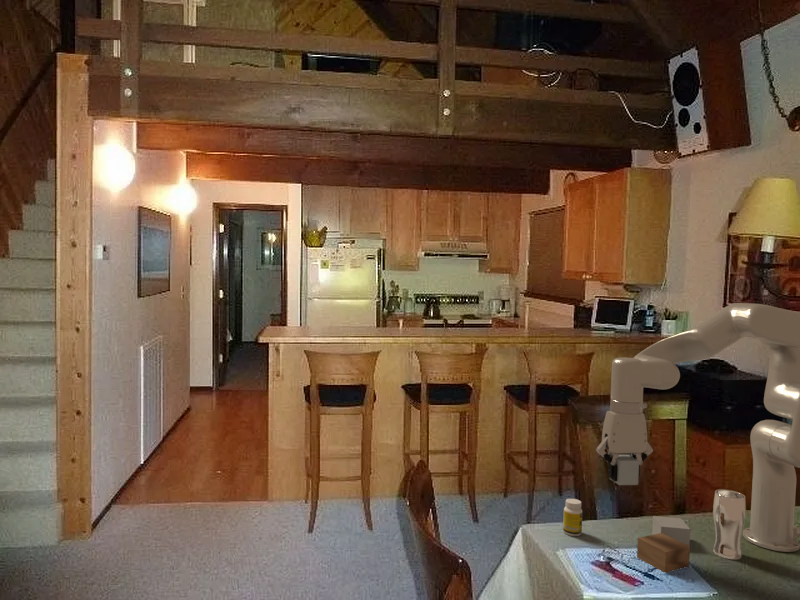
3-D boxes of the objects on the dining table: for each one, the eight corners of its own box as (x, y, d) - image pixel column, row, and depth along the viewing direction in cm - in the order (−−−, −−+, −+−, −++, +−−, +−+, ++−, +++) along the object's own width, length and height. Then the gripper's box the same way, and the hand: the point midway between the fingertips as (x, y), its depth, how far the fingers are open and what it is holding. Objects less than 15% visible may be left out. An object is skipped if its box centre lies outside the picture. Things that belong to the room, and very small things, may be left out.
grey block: (679, 537, 153) (680, 518, 152) (689, 548, 146) (690, 529, 146) (652, 534, 154) (652, 515, 153) (660, 546, 147) (661, 526, 146)
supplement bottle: (582, 537, 150) (583, 505, 149) (563, 535, 150) (564, 503, 150) (580, 530, 154) (581, 498, 154) (562, 528, 155) (563, 497, 155)
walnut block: (660, 553, 143) (661, 533, 143) (688, 567, 136) (690, 546, 135) (636, 558, 139) (637, 537, 139) (664, 573, 132) (665, 552, 132)
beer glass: (739, 550, 145) (742, 491, 145) (746, 563, 139) (749, 501, 138) (708, 545, 147) (711, 487, 147) (713, 557, 141) (716, 496, 140)
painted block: (627, 478, 148) (628, 454, 148) (638, 484, 143) (639, 460, 143) (609, 478, 147) (610, 455, 147) (619, 485, 142) (620, 461, 142)
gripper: (649, 404, 150) (646, 474, 150) (587, 404, 147) (584, 475, 148) (666, 410, 142) (663, 483, 143) (601, 410, 140) (598, 485, 140)
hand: (623, 478), depth 145 cm, fingers closed on painted block, 5 cm apart
